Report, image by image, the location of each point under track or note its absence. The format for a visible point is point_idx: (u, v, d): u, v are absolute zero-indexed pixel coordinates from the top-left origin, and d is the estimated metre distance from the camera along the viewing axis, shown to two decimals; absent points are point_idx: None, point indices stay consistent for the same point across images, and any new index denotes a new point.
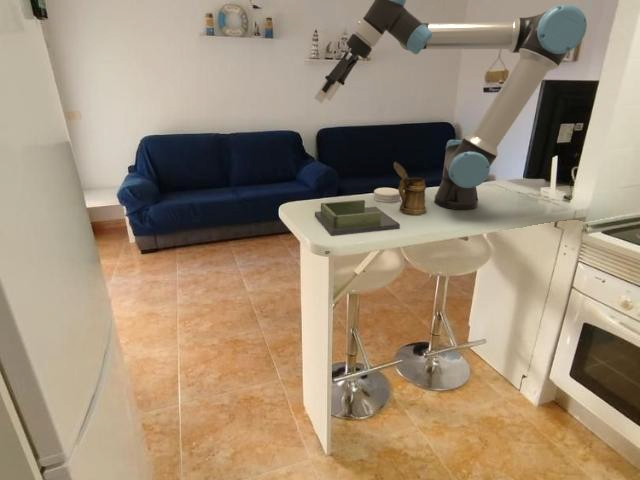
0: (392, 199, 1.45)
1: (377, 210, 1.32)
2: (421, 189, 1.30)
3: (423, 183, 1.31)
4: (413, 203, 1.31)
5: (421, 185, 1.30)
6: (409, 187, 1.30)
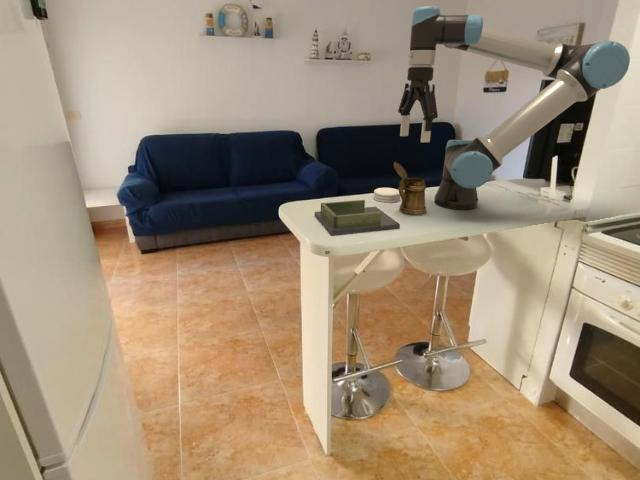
0: (392, 199, 1.45)
1: (377, 210, 1.32)
2: (421, 189, 1.30)
3: (423, 183, 1.31)
4: (413, 203, 1.31)
5: (421, 185, 1.30)
6: (409, 187, 1.30)
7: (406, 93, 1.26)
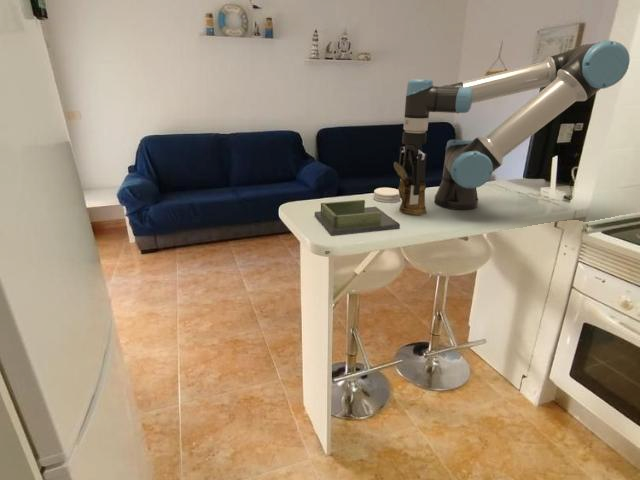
0: (392, 199, 1.45)
1: (377, 210, 1.32)
2: (421, 189, 1.30)
3: None
4: None
5: (421, 185, 1.30)
6: (409, 187, 1.30)
7: (402, 155, 1.33)
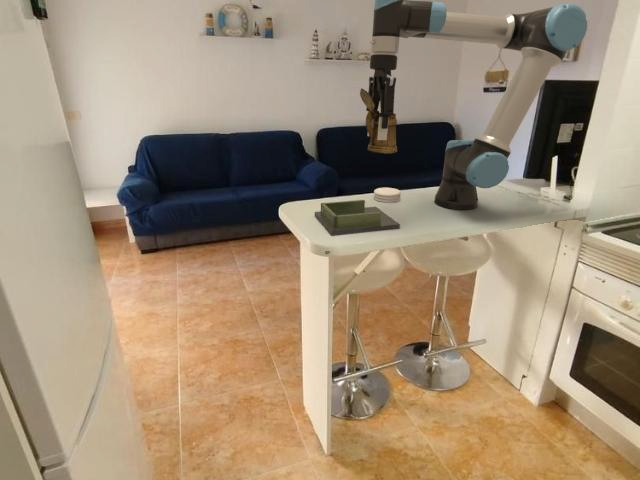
0: (392, 199, 1.45)
1: (377, 210, 1.32)
2: (391, 123, 1.15)
3: (393, 116, 1.16)
4: None
5: (391, 118, 1.15)
6: (378, 120, 1.16)
7: (371, 86, 1.18)
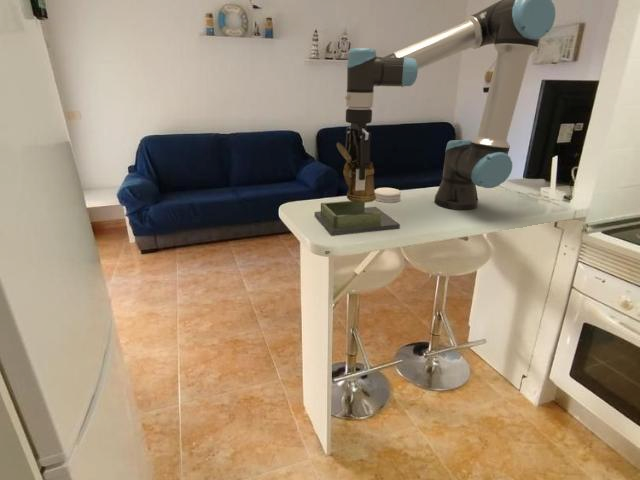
0: (392, 199, 1.45)
1: (377, 210, 1.32)
2: (368, 173, 1.17)
3: (370, 167, 1.17)
4: None
5: (368, 169, 1.17)
6: (355, 171, 1.17)
7: (348, 137, 1.20)
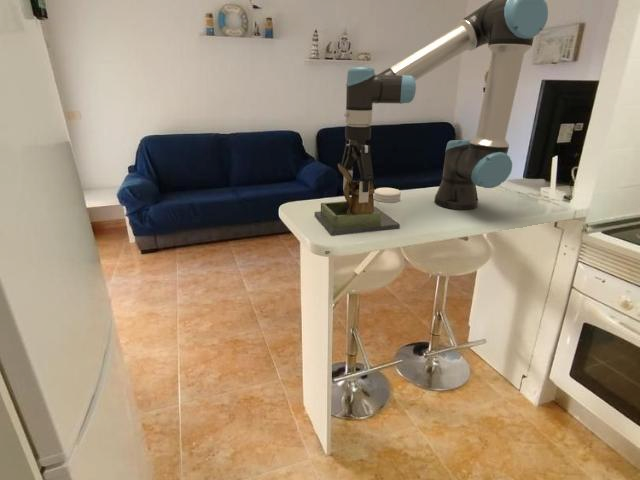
0: (392, 199, 1.45)
1: (377, 210, 1.32)
2: None
3: (371, 187, 1.20)
4: (360, 208, 1.21)
5: None
6: (355, 191, 1.19)
7: (347, 148, 1.22)
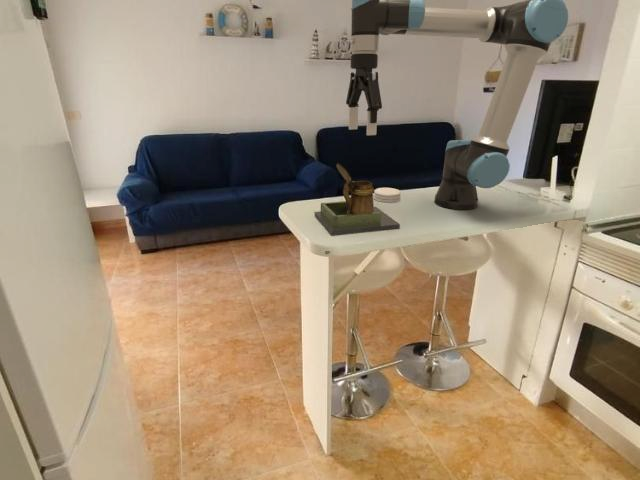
0: (392, 199, 1.45)
1: (377, 210, 1.32)
2: (367, 193, 1.19)
3: (370, 187, 1.20)
4: (359, 208, 1.21)
5: (367, 189, 1.19)
6: (355, 191, 1.20)
7: (352, 83, 1.17)
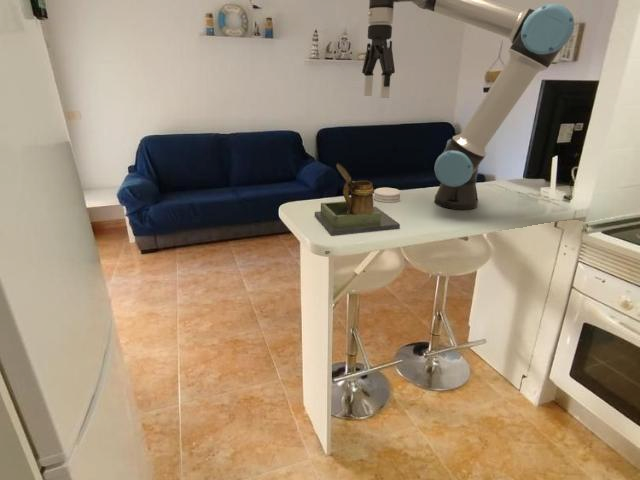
0: (392, 199, 1.45)
1: (377, 210, 1.32)
2: (367, 193, 1.19)
3: (370, 187, 1.20)
4: (359, 208, 1.21)
5: (367, 189, 1.19)
6: (355, 191, 1.20)
7: (368, 53, 1.32)
